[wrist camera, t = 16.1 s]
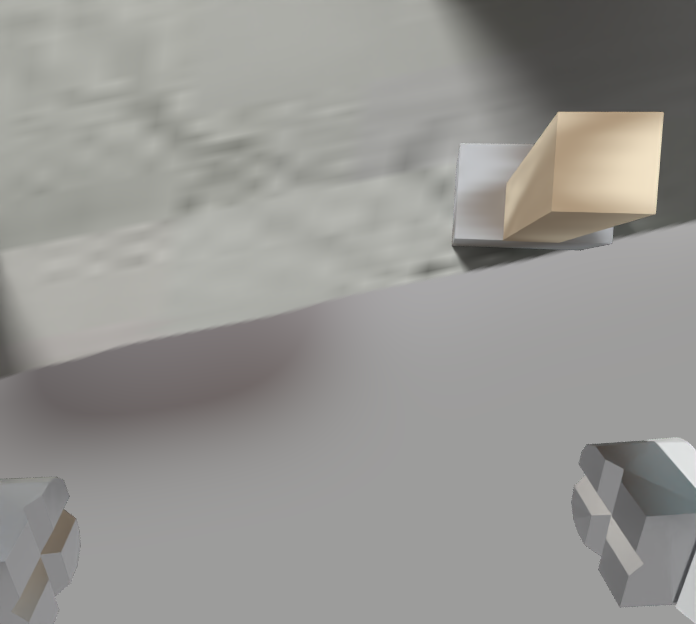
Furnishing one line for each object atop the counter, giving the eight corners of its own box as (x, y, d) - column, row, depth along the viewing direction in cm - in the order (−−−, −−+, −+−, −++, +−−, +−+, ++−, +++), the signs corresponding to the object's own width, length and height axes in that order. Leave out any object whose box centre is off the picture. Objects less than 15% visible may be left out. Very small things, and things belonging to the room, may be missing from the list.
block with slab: (467, 209, 16) (476, 42, 15) (451, 245, 33) (456, 167, 33) (748, 216, 15) (764, 38, 14) (579, 250, 32) (585, 169, 32)
